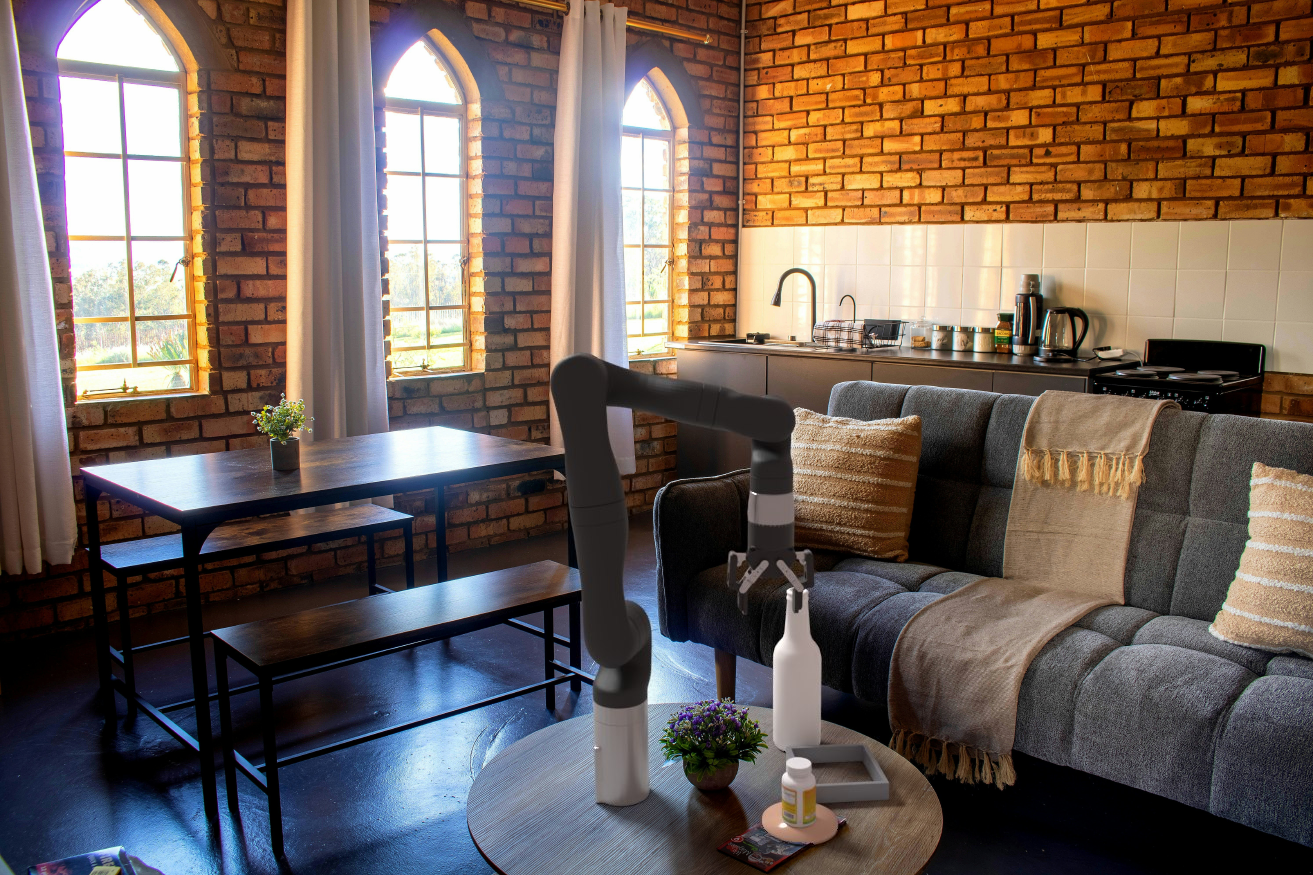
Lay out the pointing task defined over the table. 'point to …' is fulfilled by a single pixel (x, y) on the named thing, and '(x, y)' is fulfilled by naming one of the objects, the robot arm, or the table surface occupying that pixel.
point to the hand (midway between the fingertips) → (770, 612)
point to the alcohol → (796, 682)
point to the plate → (814, 833)
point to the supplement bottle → (798, 793)
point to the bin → (848, 790)
